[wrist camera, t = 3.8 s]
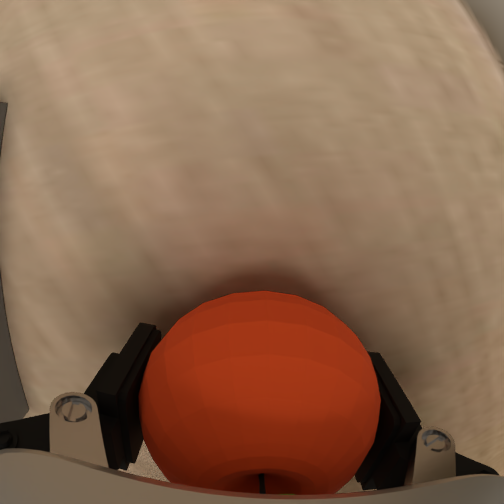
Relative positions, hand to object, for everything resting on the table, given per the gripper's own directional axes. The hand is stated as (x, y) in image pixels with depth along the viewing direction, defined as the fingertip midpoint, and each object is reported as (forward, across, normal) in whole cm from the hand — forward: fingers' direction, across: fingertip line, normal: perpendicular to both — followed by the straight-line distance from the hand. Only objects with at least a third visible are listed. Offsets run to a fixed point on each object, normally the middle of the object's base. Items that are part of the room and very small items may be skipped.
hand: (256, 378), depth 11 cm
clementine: (+2, 0, 0) cm, 2 cm away
